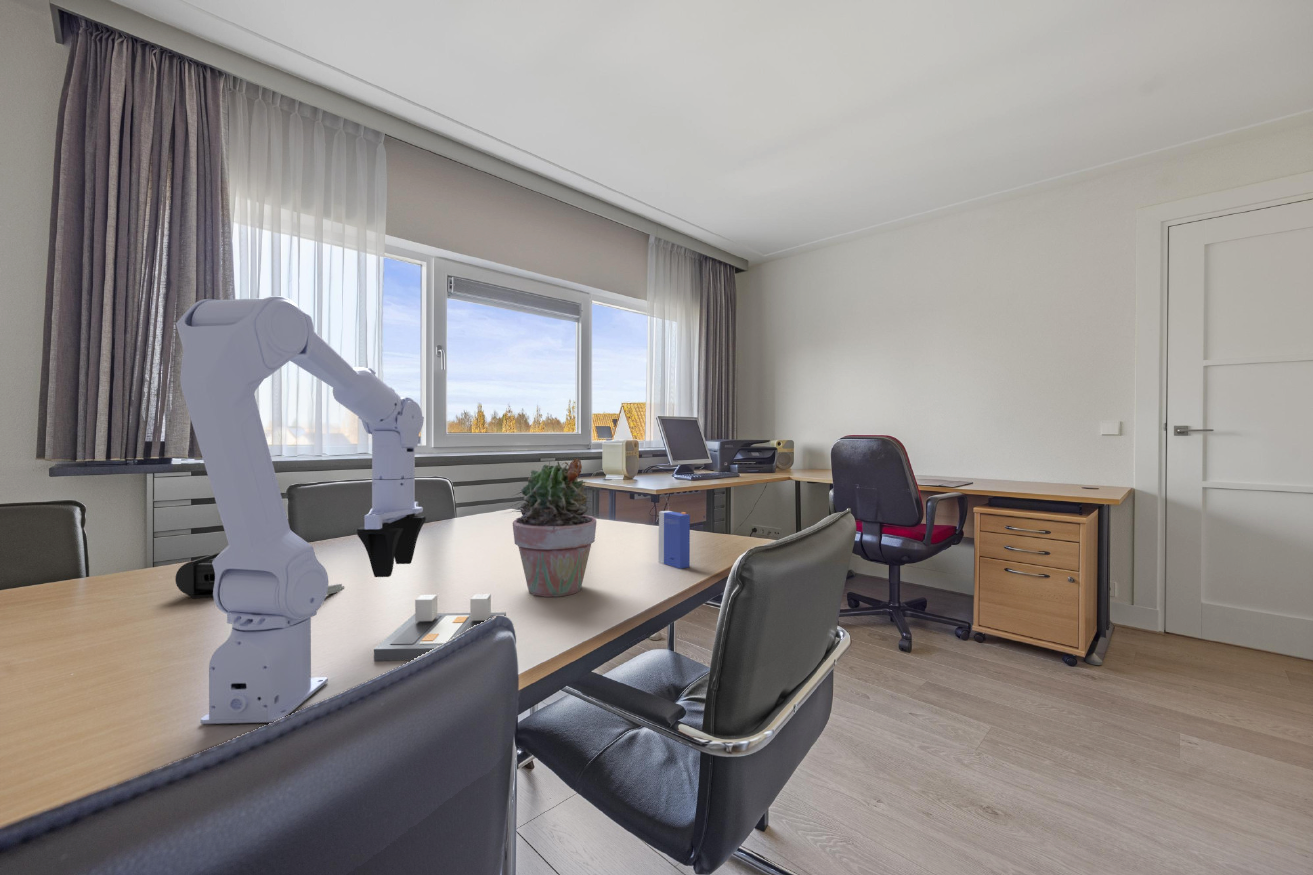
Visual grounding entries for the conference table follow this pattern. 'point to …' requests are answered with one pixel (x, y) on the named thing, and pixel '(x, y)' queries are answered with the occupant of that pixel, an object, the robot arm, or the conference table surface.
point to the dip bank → (423, 635)
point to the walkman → (674, 539)
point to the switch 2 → (480, 607)
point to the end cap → (197, 577)
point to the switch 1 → (426, 608)
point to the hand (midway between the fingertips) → (393, 569)
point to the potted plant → (554, 530)
